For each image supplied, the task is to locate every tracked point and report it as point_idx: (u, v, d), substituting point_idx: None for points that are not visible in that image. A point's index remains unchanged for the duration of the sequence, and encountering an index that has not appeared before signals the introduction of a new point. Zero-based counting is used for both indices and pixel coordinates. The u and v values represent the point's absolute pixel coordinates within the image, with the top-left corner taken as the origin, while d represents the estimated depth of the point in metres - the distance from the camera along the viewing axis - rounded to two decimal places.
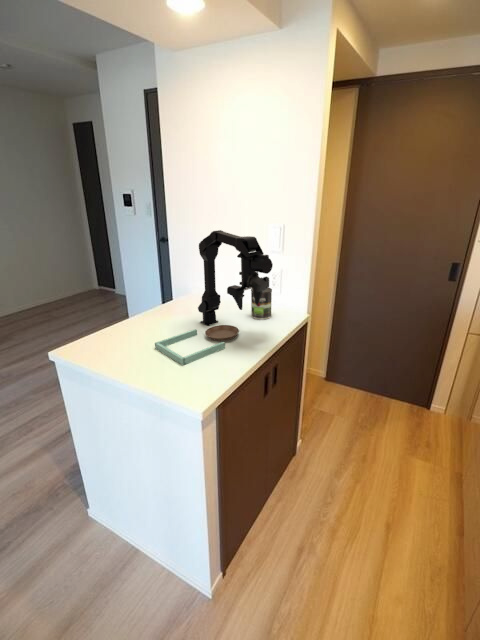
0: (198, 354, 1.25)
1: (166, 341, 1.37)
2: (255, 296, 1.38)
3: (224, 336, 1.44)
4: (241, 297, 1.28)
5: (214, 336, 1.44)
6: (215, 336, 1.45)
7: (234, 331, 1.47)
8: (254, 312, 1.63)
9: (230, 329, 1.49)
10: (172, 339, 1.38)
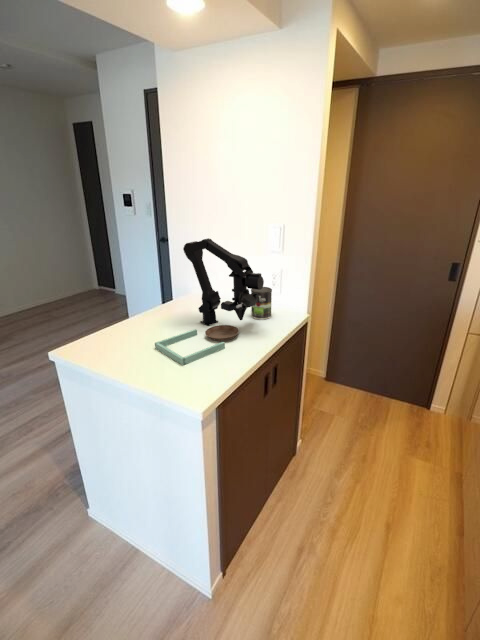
0: (198, 354, 1.25)
1: (166, 341, 1.37)
2: None
3: (224, 336, 1.44)
4: (241, 309, 1.46)
5: (214, 336, 1.44)
6: (215, 336, 1.45)
7: (234, 331, 1.47)
8: (254, 312, 1.63)
9: (230, 329, 1.49)
10: (172, 339, 1.38)
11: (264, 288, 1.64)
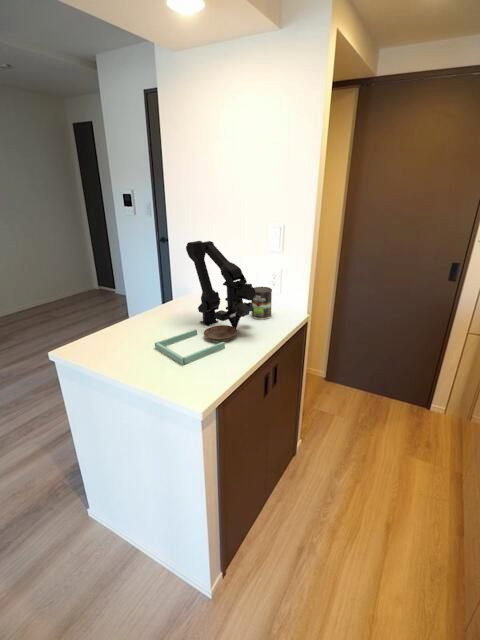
0: (198, 354, 1.25)
1: (166, 341, 1.37)
2: None
3: (222, 336, 1.43)
4: (235, 318, 1.45)
5: (212, 336, 1.44)
6: (213, 336, 1.44)
7: (233, 331, 1.47)
8: (254, 312, 1.63)
9: (229, 329, 1.49)
10: (172, 339, 1.38)
11: (264, 288, 1.64)
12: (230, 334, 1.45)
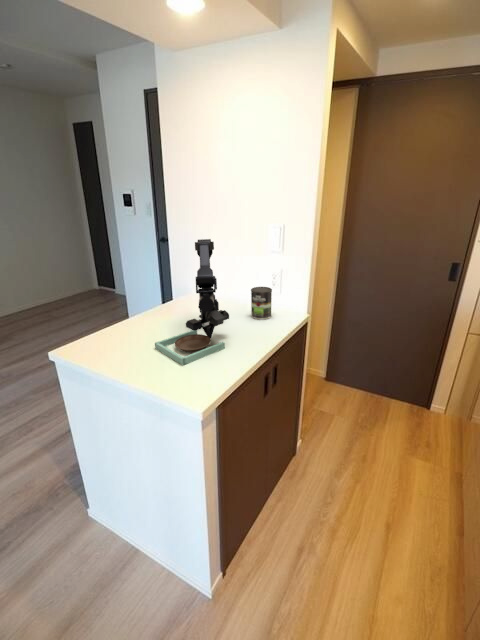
0: (198, 354, 1.25)
1: (166, 341, 1.37)
2: None
3: (195, 347, 1.34)
4: (208, 327, 1.35)
5: (185, 347, 1.35)
6: (185, 347, 1.35)
7: (207, 341, 1.38)
8: (254, 312, 1.63)
9: (203, 339, 1.40)
10: (172, 339, 1.38)
11: (264, 288, 1.64)
12: (204, 344, 1.36)
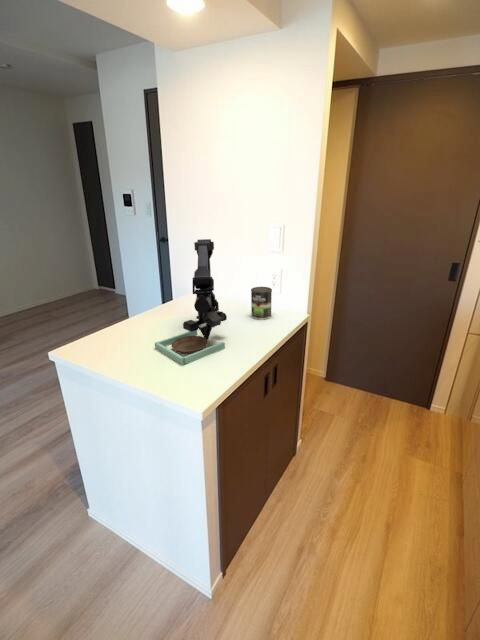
0: (198, 354, 1.25)
1: (166, 341, 1.37)
2: None
3: (192, 348, 1.33)
4: (205, 329, 1.35)
5: (181, 348, 1.34)
6: (182, 348, 1.34)
7: (204, 343, 1.37)
8: (254, 312, 1.63)
9: (200, 340, 1.39)
10: (172, 339, 1.38)
11: (264, 288, 1.64)
12: (201, 346, 1.35)
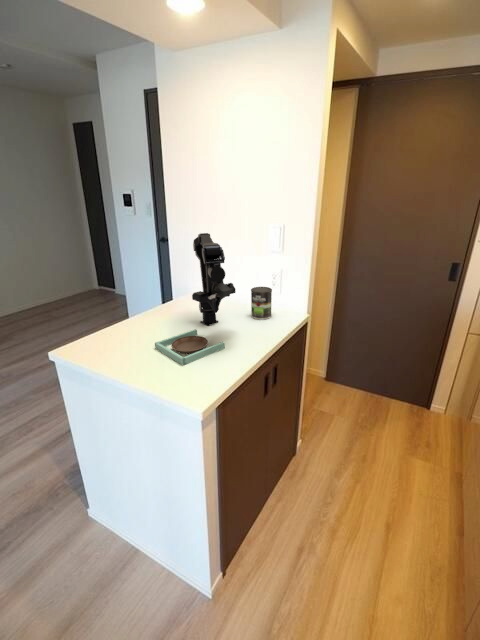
0: (198, 354, 1.25)
1: (166, 341, 1.37)
2: None
3: (192, 348, 1.33)
4: (214, 300, 1.34)
5: (181, 348, 1.34)
6: (182, 348, 1.34)
7: (204, 343, 1.37)
8: (254, 312, 1.63)
9: (200, 340, 1.39)
10: (172, 339, 1.38)
11: (264, 288, 1.64)
12: (201, 346, 1.35)
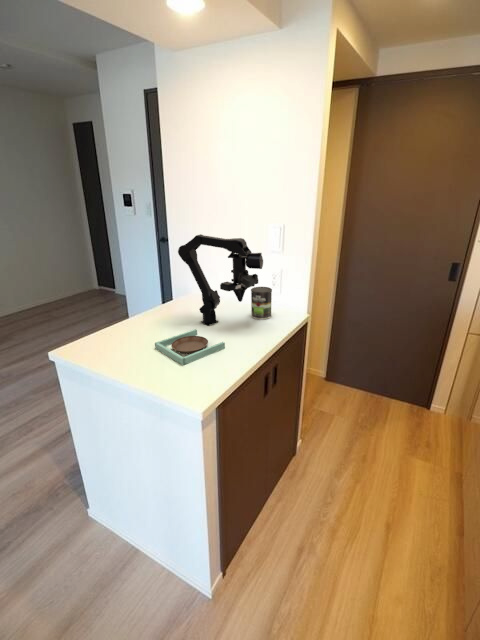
0: (198, 354, 1.25)
1: (166, 341, 1.37)
2: None
3: (192, 348, 1.33)
4: (240, 290, 1.47)
5: (181, 348, 1.34)
6: (182, 348, 1.34)
7: (204, 343, 1.37)
8: (254, 312, 1.63)
9: (200, 340, 1.39)
10: (172, 339, 1.38)
11: (264, 288, 1.64)
12: (201, 346, 1.35)
